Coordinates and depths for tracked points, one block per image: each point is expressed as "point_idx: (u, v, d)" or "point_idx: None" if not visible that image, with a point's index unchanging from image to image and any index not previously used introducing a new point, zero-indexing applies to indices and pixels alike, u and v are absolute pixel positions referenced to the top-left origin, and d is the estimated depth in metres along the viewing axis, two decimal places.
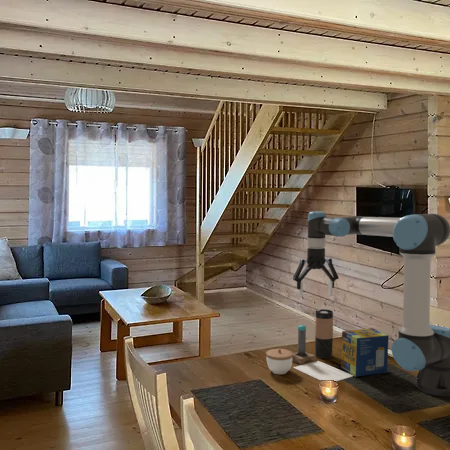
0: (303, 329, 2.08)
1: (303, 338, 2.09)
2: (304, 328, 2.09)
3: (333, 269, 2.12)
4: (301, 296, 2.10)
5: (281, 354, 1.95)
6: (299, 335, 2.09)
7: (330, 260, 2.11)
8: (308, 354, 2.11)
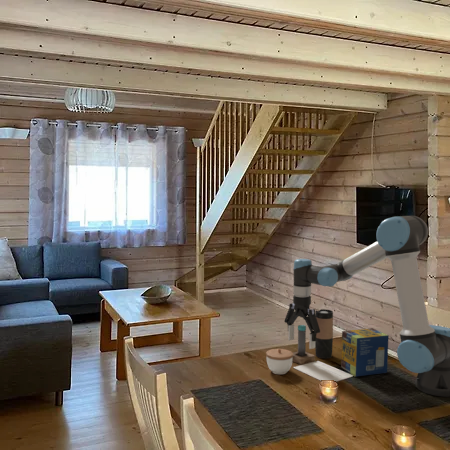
0: (303, 329, 2.08)
1: (303, 338, 2.09)
2: (304, 328, 2.09)
3: (312, 322, 2.03)
4: (288, 339, 2.16)
5: (281, 354, 1.95)
6: (299, 335, 2.09)
7: (309, 311, 2.04)
8: (308, 354, 2.11)
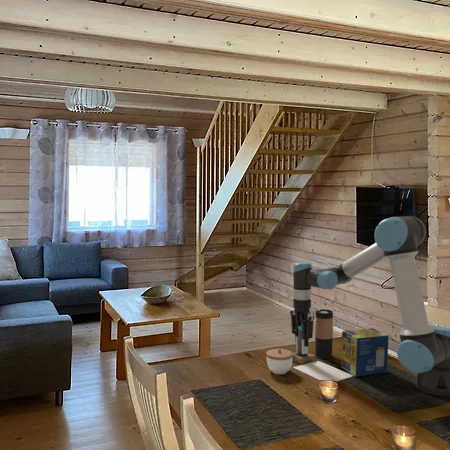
0: None
1: None
2: None
3: (307, 327, 2.05)
4: (296, 350, 2.12)
5: (281, 354, 1.95)
6: (299, 335, 2.09)
7: (309, 318, 2.04)
8: (308, 354, 2.11)
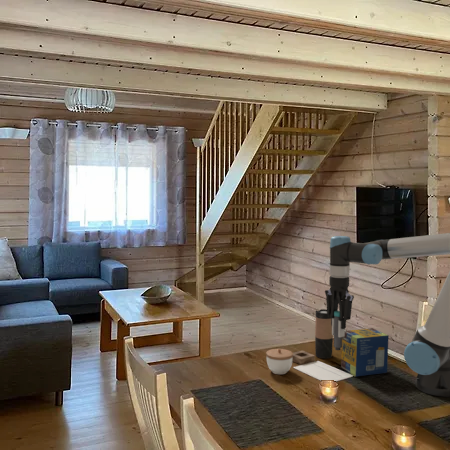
0: None
1: None
2: None
3: (345, 308, 1.85)
4: (332, 333, 1.92)
5: (281, 354, 1.95)
6: (336, 322, 1.90)
7: (347, 297, 1.84)
8: (308, 354, 2.11)
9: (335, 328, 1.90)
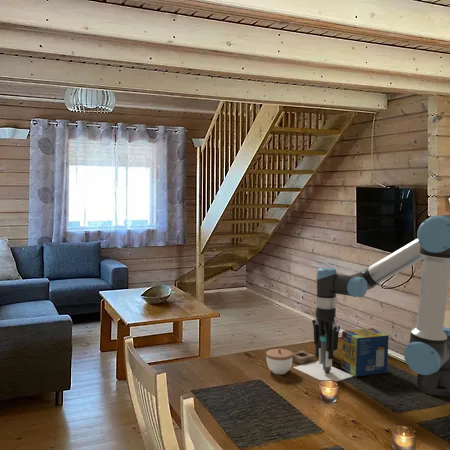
0: (326, 340, 1.92)
1: None
2: None
3: (332, 339, 1.90)
4: (319, 363, 1.96)
5: (281, 354, 1.95)
6: (322, 346, 1.93)
7: (334, 328, 1.89)
8: (308, 354, 2.11)
9: (323, 353, 1.94)
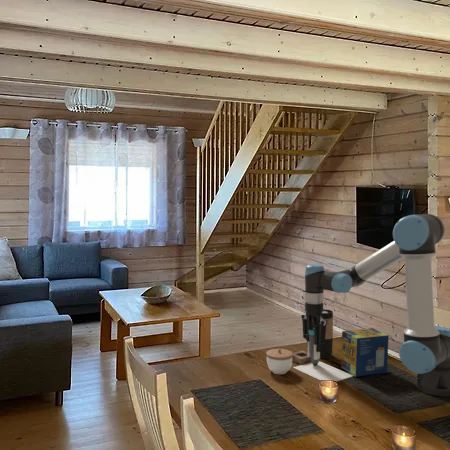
0: (314, 333, 2.01)
1: None
2: None
3: (320, 332, 1.98)
4: None
5: (281, 354, 1.95)
6: (311, 340, 2.02)
7: (321, 322, 1.97)
8: None
9: (311, 346, 2.02)
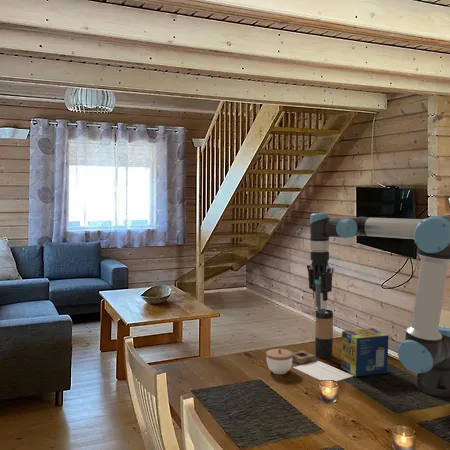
0: None
1: None
2: None
3: (326, 280, 1.96)
4: (314, 306, 2.03)
5: (281, 354, 1.95)
6: (317, 289, 2.00)
7: (328, 270, 1.96)
8: (308, 354, 2.11)
9: (317, 295, 2.01)
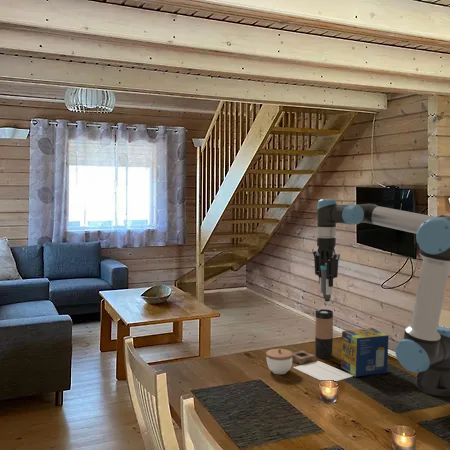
0: None
1: None
2: None
3: (332, 266, 1.97)
4: (319, 292, 2.03)
5: (281, 354, 1.95)
6: (323, 275, 2.01)
7: (334, 256, 1.96)
8: (308, 354, 2.11)
9: (323, 281, 2.01)
